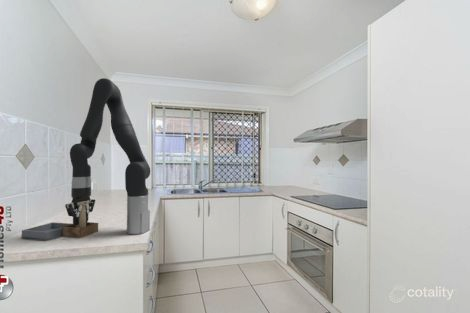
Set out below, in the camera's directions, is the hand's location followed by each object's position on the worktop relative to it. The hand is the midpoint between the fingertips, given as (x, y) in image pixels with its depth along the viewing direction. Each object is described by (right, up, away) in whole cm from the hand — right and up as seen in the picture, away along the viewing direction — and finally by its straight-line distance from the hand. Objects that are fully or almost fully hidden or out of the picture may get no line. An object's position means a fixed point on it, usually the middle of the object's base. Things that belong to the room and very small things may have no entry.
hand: (80, 223), depth 100 cm
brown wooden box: (0, -5, 0) cm, 5 cm away
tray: (-13, -5, -2) cm, 14 cm away
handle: (0, -5, 0) cm, 5 cm away
